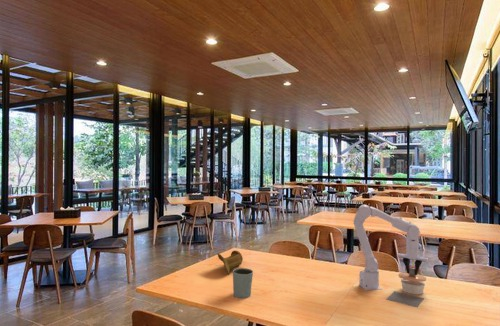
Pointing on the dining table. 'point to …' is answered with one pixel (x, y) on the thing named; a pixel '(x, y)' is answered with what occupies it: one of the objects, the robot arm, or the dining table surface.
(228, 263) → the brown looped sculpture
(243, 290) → the grey cup
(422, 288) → the ramekin
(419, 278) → the lid
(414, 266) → the cupcake
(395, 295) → the mat
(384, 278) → the dining table surface
